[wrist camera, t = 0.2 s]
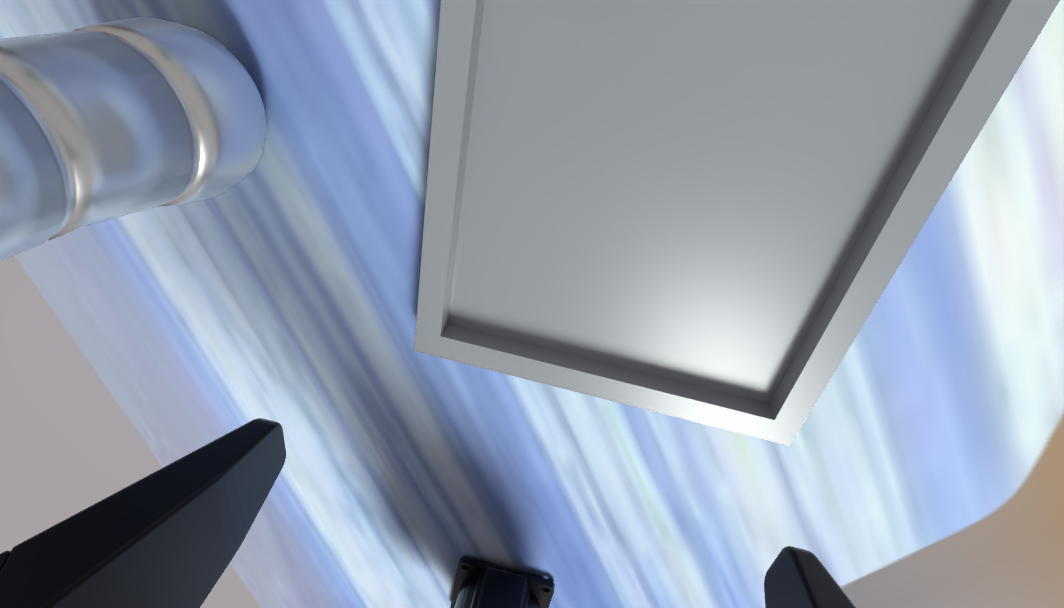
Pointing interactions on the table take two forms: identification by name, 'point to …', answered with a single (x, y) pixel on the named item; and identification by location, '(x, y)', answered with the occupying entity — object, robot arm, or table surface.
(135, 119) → the plastic bottle
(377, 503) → the table surface
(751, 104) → the tray
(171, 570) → the robot arm
